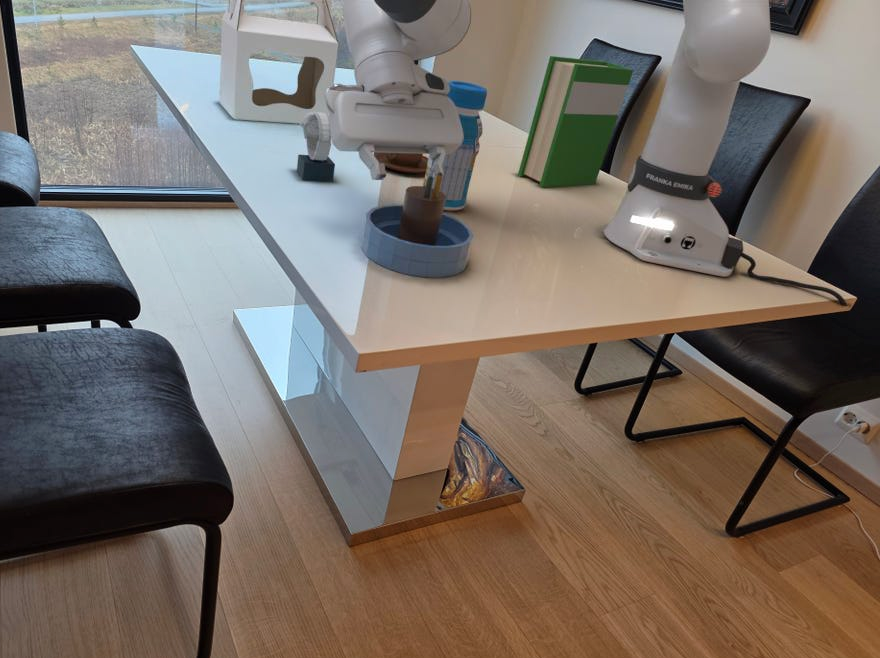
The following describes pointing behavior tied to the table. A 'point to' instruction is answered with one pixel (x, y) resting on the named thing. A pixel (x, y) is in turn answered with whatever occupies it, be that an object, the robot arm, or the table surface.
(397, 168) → the cup and saucer
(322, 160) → the watch
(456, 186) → the beverage bottle
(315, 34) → the gable box
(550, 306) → the table surface
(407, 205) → the pot
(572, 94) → the hardback book
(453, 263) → the bowl
